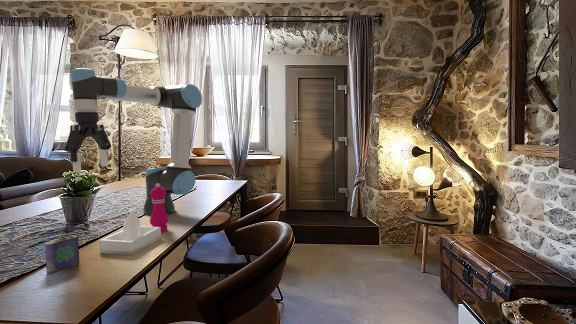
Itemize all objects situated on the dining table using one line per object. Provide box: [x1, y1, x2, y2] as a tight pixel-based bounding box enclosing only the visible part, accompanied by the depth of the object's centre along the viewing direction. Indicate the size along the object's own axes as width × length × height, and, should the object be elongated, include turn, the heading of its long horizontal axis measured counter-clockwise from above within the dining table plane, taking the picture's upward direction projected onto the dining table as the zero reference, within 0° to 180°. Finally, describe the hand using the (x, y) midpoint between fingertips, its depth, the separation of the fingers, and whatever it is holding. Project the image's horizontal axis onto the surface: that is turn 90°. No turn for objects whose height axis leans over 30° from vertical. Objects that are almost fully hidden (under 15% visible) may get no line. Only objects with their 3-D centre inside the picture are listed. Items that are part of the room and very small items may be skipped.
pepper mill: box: [149, 183, 169, 234], centre depth 140 cm, size 7×7×20 cm
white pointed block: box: [122, 209, 141, 241], centre depth 123 cm, size 6×12×6 cm
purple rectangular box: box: [44, 232, 80, 275], centre depth 103 cm, size 9×3×11 cm, turn 151°
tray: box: [99, 225, 162, 256], centre depth 123 cm, size 18×12×4 cm, turn 170°
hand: (91, 168), depth 128 cm, fingers open, 13 cm apart
